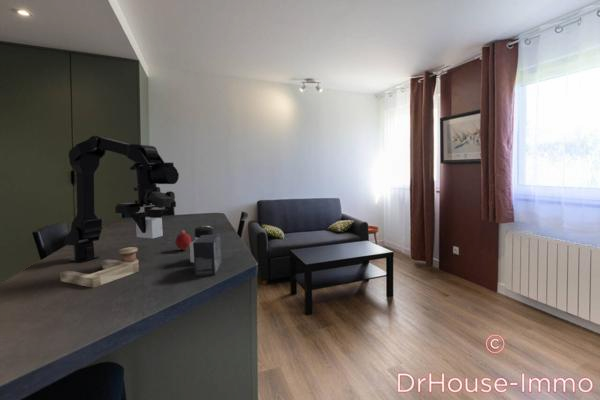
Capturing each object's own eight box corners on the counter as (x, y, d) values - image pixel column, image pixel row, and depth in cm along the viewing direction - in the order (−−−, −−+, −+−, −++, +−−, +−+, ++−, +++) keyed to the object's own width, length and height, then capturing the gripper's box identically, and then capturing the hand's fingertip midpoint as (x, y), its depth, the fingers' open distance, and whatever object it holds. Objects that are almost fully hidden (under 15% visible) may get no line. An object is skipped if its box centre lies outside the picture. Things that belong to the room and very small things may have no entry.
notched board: (60, 281, 84) (60, 272, 84) (108, 266, 97) (107, 259, 97) (93, 287, 79) (92, 278, 78) (139, 271, 92) (138, 263, 91)
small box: (202, 265, 97) (200, 234, 96) (222, 264, 98) (221, 233, 97) (193, 276, 87) (191, 241, 86) (215, 275, 87) (214, 241, 86)
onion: (188, 252, 113) (187, 231, 113) (173, 252, 113) (172, 232, 113) (193, 248, 119) (192, 229, 118) (179, 248, 119) (178, 229, 118)
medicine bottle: (209, 264, 98) (207, 229, 97) (190, 263, 100) (188, 228, 99) (219, 258, 105) (218, 225, 104) (201, 257, 107) (199, 224, 106)
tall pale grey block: (136, 236, 96) (135, 218, 95) (147, 234, 99) (146, 217, 99) (152, 238, 93) (151, 219, 92) (162, 235, 97) (161, 217, 96)
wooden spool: (115, 265, 98) (114, 250, 97) (130, 260, 103) (129, 246, 103) (127, 267, 96) (126, 252, 95) (142, 262, 101) (141, 248, 101)
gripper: (139, 185, 83) (142, 239, 84) (187, 183, 100) (189, 228, 102) (112, 185, 87) (116, 236, 89) (162, 183, 104) (164, 226, 106)
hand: (149, 231), depth 96 cm, fingers closed on tall pale grey block, 4 cm apart
